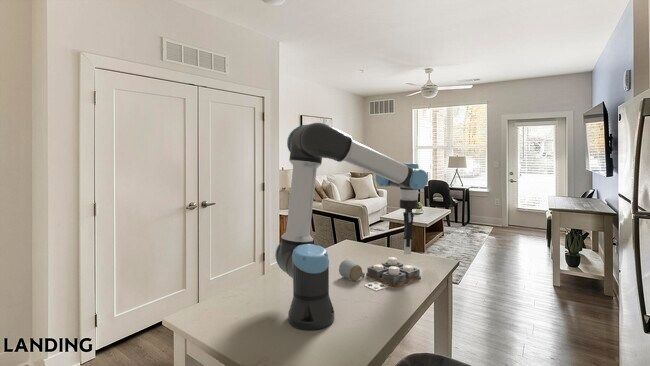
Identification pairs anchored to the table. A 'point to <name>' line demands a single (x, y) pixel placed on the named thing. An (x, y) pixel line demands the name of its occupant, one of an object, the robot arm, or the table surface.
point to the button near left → (378, 267)
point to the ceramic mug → (350, 270)
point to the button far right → (408, 268)
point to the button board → (390, 280)
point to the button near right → (394, 271)
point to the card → (376, 286)
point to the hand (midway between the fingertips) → (407, 253)
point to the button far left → (392, 261)
